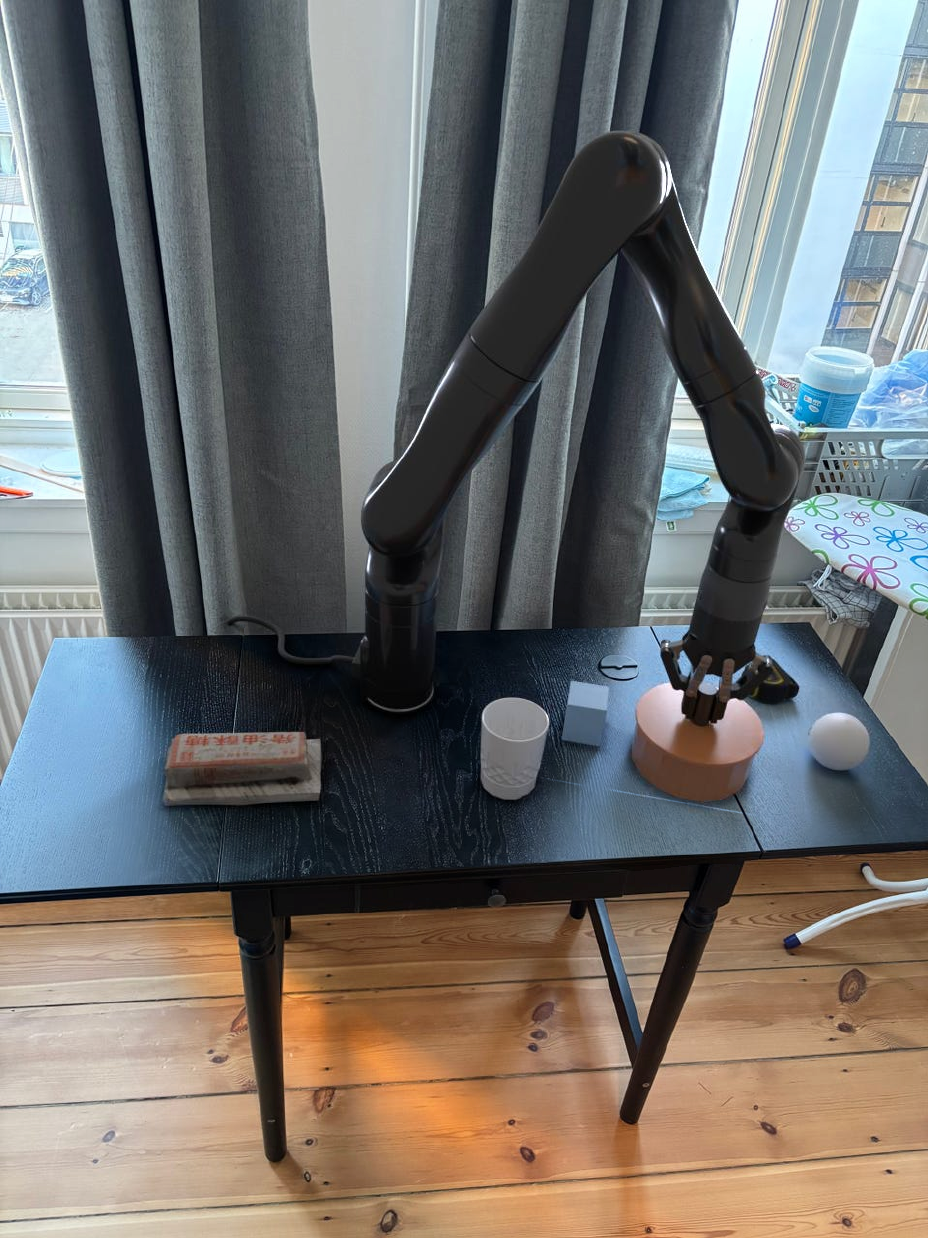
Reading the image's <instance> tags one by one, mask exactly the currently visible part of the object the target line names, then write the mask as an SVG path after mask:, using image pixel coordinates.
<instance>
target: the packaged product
mask: <svg viewBox="0 0 928 1238" xmlns="http://www.w3.org/2000/svg"><path fill="white" fill-rule="evenodd" d="M321 746H322V744H321V738H315V739H307V735H306V732H305V731H272V732H271V731H269V732H232V733H231V732H224V733H222V732H220V733H219V732H218V733H217V732H213V733H179V734H176V735H175V736H174V738H173V739H172V740H171V743H170V746H169V747H168V748H167V754H166V761H165V762H166V764H165V767H164V776H165V785H164V791H163V797H162V801H163V803H164V806H165V807H168V806H169V807H171V806H189V805H190V806H191V805H194V806H195V805H198V806H200V805H201V806H205V805H207V806H208V805H211V806H213V805H215V806H217V805H219V806H248V805H249V806H250V805H257V804H267V803H270V804H271V803H291V802H293V803H294V802H313V801H316V802H317V801H319V800H320V794H321V789H322V782H321V771H322V747H321Z"/></svg>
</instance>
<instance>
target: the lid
mask: <svg viewBox="0 0 928 1238" xmlns="http://www.w3.org/2000/svg"><path fill="white" fill-rule="evenodd" d="M718 689H719V686H716V685H715V684H712V683H710V682H702V684H700V686H699V688H698V691H697V700H696V704H695V708H694V711H693V715H692V719H691V720H689V719H685V714H682V712H681V703H682V699H683V694H684V692H683V691H682V690H674V689H673V688H672V686H671V683H670V681H668V682H663V683H660V684H657V685H654V686H653V687H651V688H649V689H648V690H646V691H645V692H644V693H643V694H642V695H641V696H640V698H639V699H638V701H637V704H636V707H635V715H634V716H635V721H636V723H637V725H638V727H639V729H640V731H641V732H642V734H643V735H644V736H645V738H646V739H647V740H648V741H649V742H650V743H651V744H652V745H653V746H655V747H656V748H657V749H659V750H660V751H662V752H664V753H665V754H667V755H669V756H671V757H673V758H675V759H678V760H680V761H683V762H686V763H690V764H694V765H698V766H705V767H727V766H733V765H737V764H740V763H743V762H745V761H747V760H749V759H750V758H752V757H753V756H754V755H755V756H756V755H757V754H758V753H759V751H760V750H761V749H762V747H763V743H764V739H765V729H764V724H763V722H762V720H761V718H760V716H759V714H757V712H756V711H755V710H754V708H753V707H751V705H749V704H748V703H747V702H746V701H745V700H738V699H736V698H735V699H731V700H729V701H728V703H727V707H726V710H725V714H724V718H723V719H722V720H717V723H716V724H714V723H710V718H711V715H712V711H713V707H714V704H715V700H716V696H717V692H718Z"/></svg>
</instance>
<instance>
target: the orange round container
mask: <svg viewBox="0 0 928 1238" xmlns="http://www.w3.org/2000/svg"><path fill="white" fill-rule="evenodd" d="M634 728H635V729H634V732H633V737H632V743H631V755H630V757H631V760H632V761H633V763H634V765H635V767H636V769H637V771H638V773H639V774H640V776H642V777H643V778H644V779H645V780H647V781H648V782H649V783H650V784H651V785H652V786H653V787H654V788H656V789H658V790H660V791H662V792H664V793H667V794H669V795H670V796H673V797H675V798H678V799H683V800H689V801H695V802H702V803H704V802H712V801H721V800H726V799H728V798H729V797H731V796H733V795H735V794H736V793H739V792H740V791H741V790H742V788H743V786H744V785H745V784H746V782H747V780H748V778H749V776H750V772H751V769H752V766H753V763H754V759H755V756H756V754H755V755H754V756H753V757H752V758H750V759H749V760H747V761H745V762H743V763H740V764H737V765H733V766H727V767H705V766H698V765H694V764H690V763H686V762H683V761H680V760H678V759H675V758H673V757H671V756H669V755H667V754H665V753H664V752H662V751H660V750H659V749H657V748H656V747H655V746H653V745H652V744H651V743H650V742H649V741H648V740H647V739H646V738H645V736H644V735H643V734H642V732H641V731H640V729H639V727H638V725H637V722H636V723H635V727H634Z"/></svg>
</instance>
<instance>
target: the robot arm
mask: <svg viewBox="0 0 928 1238" xmlns="http://www.w3.org/2000/svg"><path fill="white" fill-rule="evenodd" d="M620 252H621V253H622V255H623V256H624V257H625V259H626V260H627V262H628V263H629V265H630V267H631V268H632V271H633V272H634V274H635V276H636V278H637V279H638V281H639V284H640V285H641V288H642V290H643V292H644V294H645V296H646V299H647V301H648V303H649V307H650V309H651V311H652V314H653V317H654V319H655V322H656V325H657V328H658V331H659V334H660V337H661V340H662V343H663V345H664V348H665V351H666V354H667V356H668V358H669V361H670V363H671V366H672V368H673V370H674V372H675V374H676V376H677V378H678V380H679V382H680V384H681V386H682V388H683V389H684V392H685V393H686V395H687V397H688V400H689V401H690V403H691V406H692V407H693V408H694V410H695V412H696V414H697V416H698V417H699V419H700V420H701V421H700V422H701V424H702V427H703V431H704V434H705V438H706V442H707V446H708V448H709V451H710V454H711V457H712V461H713V465H714V468H715V470H716V472H717V475H718V477H719V480H720V482H721V484H722V486H723V488H724V489H725V491H726V492H727V494H728V498H727V502H726V506H725V508H724V511H723V513H722V515H720V518H719V520H718V522H717V524H716V526H715V530H714V533H713V537H712V542H711V545H710V550H709V553H708V558H707V562H706V564H705V566H704V568H703V571H702V574H701V578H700V581H699V586H698V589H697V594H696V597H695V602H694V607H693V611H692V614H691V619H690V623H689V628H688V629H687V631H686V633H684V635H683V636H682V638H681V640H680V639H679V640H675V641H670V639H666V638H665V639H662V640H661V641H660V646H659V647H660V658H661V662H662V664H663V667H664V669H665V672H666V675H667V677H668V680H669V682H670V683H671V686H672V688H673V689H674V690H682V691H683V692H684V694H683V699H682V703H681V712H682V714H685V719H689V720H691V719H692V715H693V711H694V708H695V704H696V700H697V691H698V688H699V686H700V684H702V683H704V682H703V681H704V679H705V678H706V676H711V675H712V676H715V677H718V678H719V679H718V687H719V689H718V692H717V696H716V700H715V704H714V707H713V711H712V715H711V718H710V723H714V724H716V723H717V720H722V719H723V718H724V714H725V710H726V707H727V703H728V701H729V700H731V699H735V698H736V699H738V700H743V701H745V700H746V699H747V698H748V697H750V696H749V695H750V694H751V693H752V692H753V691H754V690H755V689H756V688H757V687H758V686H759V685H760V684H761V683H762V682H763V681H765V680H766V679H767V678H768V677H769V676H770V675H771V674H772V673H773V665H772V659H773V657H772V656H771V655H769V654H764V655H762V654H761V653H759V652H757V651H756V646H755V643H756V640H757V635H758V633H759V629H760V626H761V622H762V619H763V616H764V612H765V610H766V608H767V606H768V598H769V595H770V590H771V581H772V575H773V572H774V568H775V565H776V560H777V557H778V554H779V551H780V547H781V539H782V535H783V530H784V526H785V523H786V520H787V517H788V515H789V512H790V510H791V507H792V505H793V502H794V499H795V496H796V494H797V491H798V489H799V485H800V483H801V480H802V477H803V473H804V471H805V466H806V458H807V457H806V449H805V445H804V444H803V441H802V439H801V438H800V437H799V436H798V434H797V433H796V432H795V431H793V429H790V428H789V427H788V426H785V425H781V424H776V423H775V424H772V423H771V422H770V419H769V416H768V414H767V411H766V394H767V393H766V388H765V384H764V382H763V379H762V377H761V375H760V373H759V371H758V368H757V367H756V365H755V363H754V360H753V359H752V357H751V354H750V352H749V351H748V349H747V347H746V345H745V343H744V341H743V339H742V337H741V335H740V333H739V332H738V329H737V328H736V326H735V324H734V322H733V320H732V318H731V316H730V315H729V313H728V311H727V309H726V307H725V305H724V303H723V301H722V299H721V297H720V296H719V293H718V292H717V291H716V288H715V286H714V284H713V283H712V281H711V278H710V276H709V275H708V272H707V271H706V269H705V266H704V264H703V262H702V260H701V257H700V255H699V253H698V251H697V248H696V246H695V243H694V241H693V238H692V236H691V234H690V230H689V228H688V226H687V223H686V219H685V217H684V213H683V210H682V207H681V204H680V200H679V197H678V194H677V190H676V187H675V183H674V180H673V176H672V173H671V168H670V163H669V160H668V157H667V155H666V153H665V152H664V150H663V148H662V147H661V146H660V145H659V144H658V143H657V142H656V141H655V140H654V139H653V138H651V137H649V136H648V135H647V134H643V133H641V132H638V131H634V130H612V131H606V132H604V133H600V134H598V135H595V137H593V138H591V139H589V140H588V141H587V142H586V143H585V144H584V145H583V146H582V147H581V148H579V150H578V151H577V153H576V154H575V155H574V157H573V158H572V160H571V162H570V164H569V166H568V167H567V170H566V171H565V173H564V175H563V178H562V179H561V182H560V184H559V186H558V187H557V190H556V193H555V194H554V196H553V198H552V200H551V203H550V205H549V206H548V208H547V210H546V212H545V214H544V216H543V218H542V220H541V222H540V224H539V225H538V228H537V230H536V231H535V234H534V236H533V238H532V239H531V241H530V242H529V245H528V246H527V248H526V249H525V251H524V253H523V254H522V256H521V257H520V259H519V260H518V261H517V263H516V264H515V265H514V267H513V268H512V269H511V271H510V272H509V273H508V274H507V276H506V277H505V278H504V279H503V280H502V282H501V283H500V285H499V286H498V288H497V289H496V290H495V292H494V293H493V295H492V296H491V297H490V299H489V300H488V301H487V303H486V305H485V306H484V308H483V309H482V310H481V312H480V313H479V314H478V316H477V318H476V319H475V320H474V322H473V324H471V326H470V328H469V330H468V331H467V333H466V334H465V336H464V337H463V339H462V340H461V342H460V344H459V345H458V347H457V348H456V350H455V352H454V354H453V355H452V357H451V359H450V361H449V362H448V363H447V366H446V368H445V369H444V371H443V373H442V375H441V377H440V379H439V381H438V383H437V385H436V387H435V390H434V392H433V394H432V396H431V398H430V401H429V402H428V405H427V406H426V407H427V408H426V410H425V412H424V414H423V416H422V419H421V422H420V423H419V426H418V428H417V431H416V433H415V435H414V436H413V438H412V440H411V442H410V443H409V445H408V447H407V448H406V450H405V451H404V452H403V454H402V455H401V456H400V458H398V459H395V460H392V461H390V462H388V463H386V464H385V465H384V466H382V467H381V468H380V469H379V470H378V471H377V473H376V474H375V475H374V477H373V478H372V481H371V483H370V486H369V488H368V490H367V492H366V495H365V497H364V499H363V502H362V506H361V509H360V525H361V530H362V534H363V537H364V539H365V540H366V542H367V543H368V551H367V558H366V562H365V569H364V635H363V637H362V639H361V641H360V644H359V647H358V649H357V651H356V653H355V655H354V656H348V655H341V654H339V655H336V654H335V655H332V656H330V657H317V658H313V657H312V658H311V657H310V658H308V657H307V658H306V657H298V656H294V655H292V654H289V653H288V652H287V651H286V650H285V641H286V640H285V638H286V637H285V633H284V632H283V630H282V629H281V628H280V627H278V626H277V625H276V624H274V623H272V622H270V621H268V620H266V619H263V618H261V617H257V616H253V615H245V614H242V615H241V614H240V615H235V616H232V617H230V618H228V619H226V620H225V624H226V625H233V624H235V623H239V622H240V623H241V622H246V623H247V622H248V623H253V624H256V625H259V626H262V627H265V628H267V629H268V630H270V631H272V632H274V633H275V634H276V635H277V637H278V640H277V641H278V642H277V652H278V654H279V655H280V657H281V658H282V659H283V660H285V661H287V662H289V663H293V664H297V665H305V666H309V665H310V666H315V665H316V666H317V665H319V666H320V665H332V664H335V663H347V664H351V678H354V679H359V696H360V697H359V700H360V702H363V703H368V705H369V706H371V707H372V708H374V709H375V710H377V711H379V712H381V713H385V714H387V715H398V716H399V715H400V716H401V715H402V716H403V715H409V714H414V713H418V712H419V711H421V710H423V709H425V708H426V707H427V706H428V705H429V704H430V703H431V702H432V700H433V699H434V690H435V689H434V688H435V687H434V682H435V677H436V664H435V658H436V639H437V620H438V602H439V588H440V587H439V585H440V575H441V569H442V568H441V567H442V561H443V550H444V549H443V548H444V536H445V535H444V534H445V522H446V514H447V513H448V512H449V511H448V510H449V509H450V507H451V505H452V504H453V502H454V500H455V498H456V496H457V494H458V493H459V492H460V489H461V488H462V486H463V484H464V483H465V481H466V480H467V479H468V477H469V475H470V474H471V473H472V471H473V470H474V469H475V468H476V466H477V465H478V464H479V463H480V461H481V460H482V459H483V458H484V457H485V455H487V453H488V452H489V451H490V450H491V449H492V447H493V446H494V445H495V444H496V442H497V441H498V439H499V438H500V437H501V436H502V434H503V433H504V432H505V431H506V429H507V428H508V426H509V425H510V424H511V423H512V422H513V420H514V419H515V417H516V416H517V415H518V413H519V412H520V411H521V410H522V408H523V407H524V406H525V404H526V403H527V402H528V400H529V399H530V397H531V396H532V394H533V393H534V391H535V390H536V388H537V387H538V385H539V384H540V383H541V382H542V380H543V378H544V377H545V375H546V373H547V372H548V370H549V368H550V367H551V365H552V363H553V362H554V360H555V358H556V356H557V355H558V353H559V351H560V349H561V347H562V345H563V343H564V341H565V339H566V336H567V335H568V332H569V330H570V327H571V325H572V324H573V321H574V319H575V317H576V315H577V312H578V310H579V308H580V307H581V304H582V302H583V301H584V299H585V297H586V296H587V294H588V292H589V291H590V290H591V289H592V287H593V286H594V285H595V283H596V282H597V281H598V279H599V278H600V277H601V276H602V274H603V273H604V272H605V271H606V269H607V268H608V267H609V265H610V264H611V263H612V262H613V261H614V259H615V258H616V257H617V255H619V253H620ZM682 652H683V653H684V654H685V656H686V658H687V659H688V661H689V663H690V669H689V671H688V674H687V676H686V675H684V674H683V673H682V670H681V667H680V664H679V659H680V657H681V653H682ZM749 663H751V664H750V667H751V668H750V669H749V670H748V671H746V672H745V673H744V674H743V675H742V674H741V675H742V676H741V675H740V677H739V678H738V679H737V680H736V681H735V682H733V677H734V674H736V673H737V672H738V671H740V670H742V669H743V668H745V667H746V665H748V664H749Z"/></svg>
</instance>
